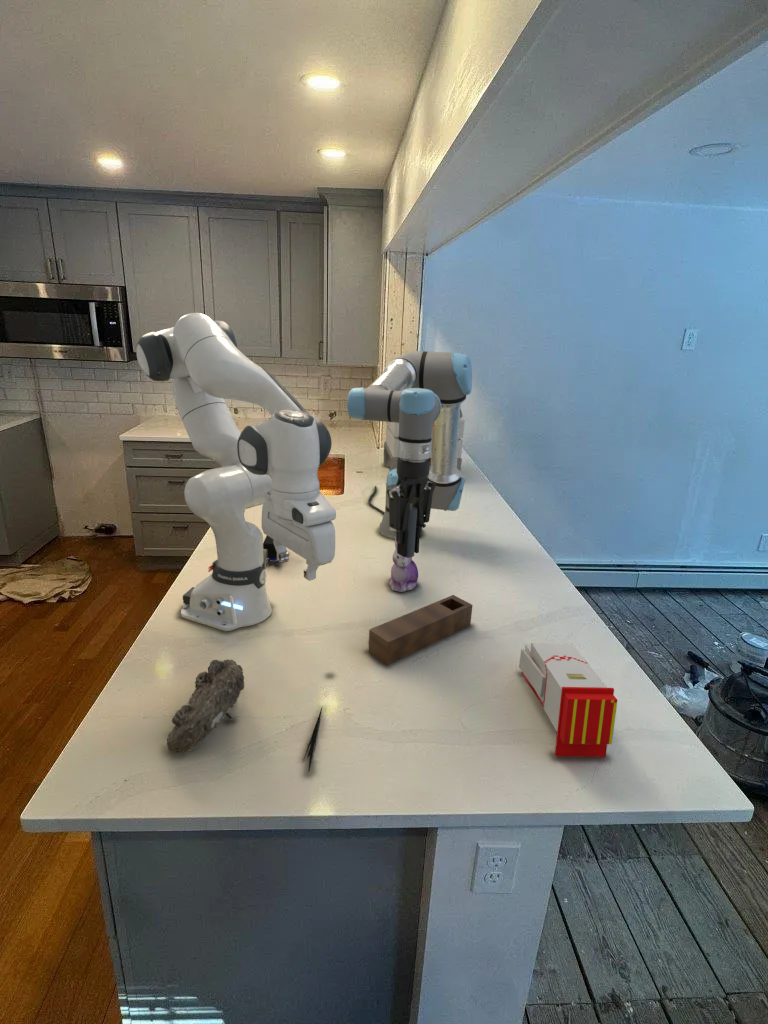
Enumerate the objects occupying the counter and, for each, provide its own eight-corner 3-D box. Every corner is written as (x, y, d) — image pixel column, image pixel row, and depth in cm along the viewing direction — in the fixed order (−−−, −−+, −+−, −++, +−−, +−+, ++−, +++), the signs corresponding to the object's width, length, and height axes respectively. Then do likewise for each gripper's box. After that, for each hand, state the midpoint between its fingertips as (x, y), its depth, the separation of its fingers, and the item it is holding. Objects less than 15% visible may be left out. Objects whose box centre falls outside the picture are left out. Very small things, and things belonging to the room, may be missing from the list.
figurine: (397, 596, 156) (400, 546, 151) (380, 580, 165) (382, 532, 160) (426, 589, 160) (430, 541, 155) (408, 575, 169) (411, 528, 164)
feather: (331, 679, 122) (336, 673, 122) (307, 777, 96) (313, 769, 95) (324, 675, 122) (329, 669, 121) (298, 772, 95) (304, 764, 95)
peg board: (387, 665, 126) (388, 642, 124) (368, 651, 131) (369, 629, 129) (470, 625, 144) (472, 604, 142) (451, 615, 148) (453, 594, 146)
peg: (398, 554, 137) (400, 507, 133) (408, 551, 139) (411, 505, 135) (407, 558, 135) (409, 511, 131) (416, 555, 137) (420, 508, 133)
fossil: (192, 660, 117) (244, 628, 112) (224, 691, 120) (276, 661, 115) (142, 746, 98) (202, 712, 93) (182, 779, 101) (242, 748, 96)
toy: (567, 625, 127) (627, 695, 97) (561, 680, 130) (618, 764, 100) (513, 624, 126) (557, 694, 97) (508, 679, 129) (550, 763, 100)
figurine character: (283, 572, 170) (290, 547, 184) (282, 550, 167) (289, 526, 180) (260, 571, 170) (269, 546, 183) (259, 549, 167) (268, 526, 180)
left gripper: (252, 489, 109) (254, 555, 114) (311, 520, 94) (311, 594, 99) (280, 484, 113) (282, 547, 117) (342, 513, 98) (340, 584, 103)
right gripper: (397, 467, 121) (392, 566, 129) (450, 457, 131) (442, 550, 139) (375, 459, 127) (371, 555, 134) (428, 450, 136) (421, 540, 144)
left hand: (296, 569), depth 108 cm, fingers open, 8 cm apart
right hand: (407, 552), depth 137 cm, fingers closed on peg, 3 cm apart
